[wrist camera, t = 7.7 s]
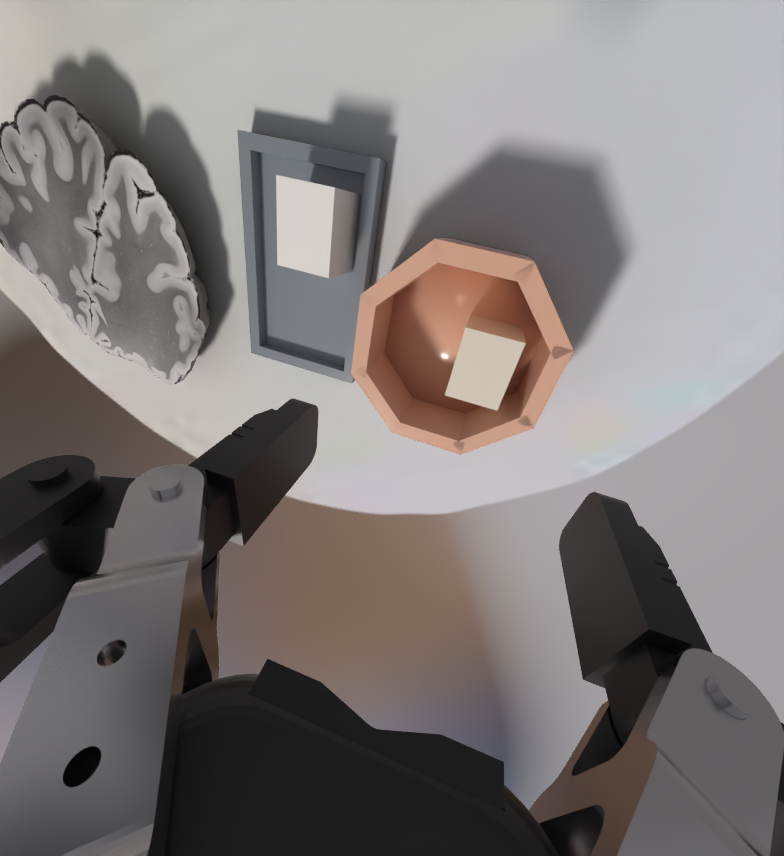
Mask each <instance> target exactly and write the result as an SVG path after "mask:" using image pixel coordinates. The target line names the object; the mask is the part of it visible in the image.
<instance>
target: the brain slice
mask: <svg viewBox="0 0 784 856" xmlns="http://www.w3.org/2000/svg"><path fill="white" fill-rule="evenodd" d="M0 243H1V244H2V246H3V247H4V248H5V249H6V250H7V252H8V253H9V254H10V255H11V256H13V257H14V258H15V259H16V260H17V261H18V262H19V263H20V264H21V265H22V266H23V267H25V268H26V269H28V270H29V271H30V272H31V273H32V274H33V275H35V276H36V277H37V278H38V279H39V280H40V281H41V282H42V283H43V284H44V285H45V286H46V288H47V289H48V291H49V292H50V293H51V295H52V296H53V298H54V299H55V300H56V302H57V303H58V305H59V306H60V307H61V308H62V309H63V310H64V311H65V313H66V314H67V316H68V317H69V319H70V320H71V321H72V322H73V324H74V325H75V326H76V327H77V328H78V329H79V330H80V331H81V332H83V333H84V334H85V335H86V334H88V335H89V336H90V338H91V339H92V340H93V341H94V342H96V343H98V345H99V346H100V347H102V348H103V349H104V350H105V351H107V352H108V353H110V354H113V355H116V356H120V357H122V358H124V359H127V360H130V361H134V362H136V363H138V364H140V365H142V366H144V367H145V368H146V369H147V370H148V371H150V372H151V373H153V374H154V375H155V376H157V377H159V378H161V379H162V380H163V381H165V382H167V383H170V384H176V383H179V382H180V381H182V380H183V379H184V378H185V377H186V376H187V374H188V373H189V372H190V371H191V370H192V368H193V366H194V363H195V361H196V358H197V355H198V352H199V350H200V348H201V346H202V345H203V342H204V336H205V334H206V331H207V329H208V326H209V322H210V312H209V309H207V308H206V304H207V302H208V296H207V292H206V288H205V286H204V285H203V283H202V280H201V279H200V278H199V277H197V276H196V275H195V262H194V259H193V256H192V252H191V249H190V246H189V243H188V240H187V237H186V234H185V232H184V229H183V227H182V225H181V223H180V221H179V219H178V217H177V216H176V214H175V212H174V210H173V209H172V207H171V206H170V204H169V203H168V202H167V200H166V199H165V198H164V196H163V195H162V194H161V193H160V192H159V191H158V190H157V188H156V186H155V183H154V180H153V178H152V177H151V175H150V173H149V171H148V169H147V168H146V167H145V166H144V164H143V163H142V162H141V161H140V160H139V158H138V157H136V156H135V155H134V154H132V153H131V152H129V151H118V149H117V148H116V146H115V145H114V143H113V142H112V141H111V140H110V138H109V137H108V136H107V135H106V134H105V133H104V132H103V131H102V130H101V129H100V128H99V127H98V126H97V125H96V124H95V123H94V122H93V121H91V120H90V119H88V118H87V117H85V116H83V115H82V114H81V113H80V112H79V111H78V110H77V109H76V107H75V106H74V105H73V104H72V103H71V102H70V101H68V100H67V99H66V98H64V97H60V96H57V95H52V96H49V97H48V98H47V99H46V100H45V102H44V106H43V105H41V104H40V103H38V102H37V101H36V100H34V99H26V100H24V101H23V102H21V103H20V104H19V105H18V106H17V107H16V108H15V115H14V122H10V121H6V122H4V123H2V124H1V126H0Z"/></svg>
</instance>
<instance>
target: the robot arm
mask: <svg viewBox="0 0 784 856" xmlns="http://www.w3.org/2000/svg"><path fill="white" fill-rule="evenodd" d="M317 429H318V408H317V406H316V405H313V404H309V403H306V402H303V401H300V400H296V399H290V400H289V401H288V402H286V403H285V404H284V405H283V406H281V407H280V408H279V409H278V410H274V409H270V410H267V411H265V412H262V413H259V414H256V415H254V416H253V417H252V418H250V419H249V420H248V421H246V422H245V423H244V424H242V427H238V428H237V429H236V430H234V431H233V432H232V434H231V435H228V436H227V437H225V438H224V439H223V440H221V441H220V442H219V443H217V444H216V445H215V446H213V447H212V448H211V449H209V450H208V451H207V452H205V453H204V454H203V455H201V456H200V457H199V458H198V459H196V460H195V461H194V462H192V463H191V464H190V465H188V466H187V465H167V466H163V467H158V468H155V469H153V470H150V471H148V472H146V473H144V474H142V475H141V476H139V477H138V478H136V479H132V478H119V477H105V476H100V475H99V474H98V471H97V469H96V467H95V465H94V463H93V462H92V461H91V460H90V459H88V458H86V457H83V456H77V455H63V456H55V457H50V458H46V459H42V460H39V461H36V462H33V463H30V464H28V465H26V466H24V467H22V468H20V469H18V470H16V471H14V472H12V473H11V474H9V475H7V476H5V477H3V478H1V479H0V568H2V567H3V566H5V565H6V564H7V563H9V562H10V561H11V560H13V559H14V558H16V557H17V556H18V555H20V554H21V553H23V552H24V551H25V550H27V549H28V548H29V547H31V546H32V545H34V544H35V543H36V542H37V544H38V545H39V546H40V548H41V549H42V551H43V552H44V553H42V554H41V555H40V556H39V557H37V558H36V559H34V560H33V561H32V562H30V563H29V564H28V565H27V566H25V567H24V568H23V569H21V570H20V571H19V572H18V573H16V574H15V575H13V576H12V577H11V578H9V579H8V580H7V581H5V582H4V583H3V584H2V585H0V682H1V681H2V680H3V679H4V678H5V677H6V676H7V675H8V674H9V673H10V672H12V670H14V668H16V667H17V666H18V665H19V664H20V663H21V662H22V661H23V660H24V659H25V658H26V657H27V656H28V655H29V654H30V653H31V652H32V651H33V650H34V649H35V648H37V647H38V646H39V645H40V644H41V643H42V642H43V641H44V640H45V639H46V638H47V637H48V636H49V635H50V634H51V633H52V632H53V633H52V636H51V638H50V641H49V643H48V646H47V648H46V651H45V653H44V656H43V658H42V661H41V663H40V666H39V669H38V671H37V673H36V676H35V678H34V681H33V683H32V686H31V688H30V691H29V693H28V696H27V698H26V701H25V703H24V706H23V709H22V711H21V714H20V716H19V718H18V721H17V723H16V726H15V729H14V731H13V733H12V736H11V738H10V741H9V743H8V746H7V748H6V751H5V753H4V756H3V758H2V761H1V764H0V856H784V724H783V723H781V722H780V720H779V718H778V717H777V715H776V713H775V711H774V709H773V708H772V706H771V705H770V703H769V702H768V701H767V699H766V698H765V696H764V695H763V694H762V693H761V692H760V690H759V689H758V688H757V687H756V686H755V685H754V684H753V683H752V682H751V681H750V680H749V679H748V678H747V677H746V676H745V675H744V674H743V673H741V672H740V671H739V670H738V669H737V668H736V667H734V666H733V665H732V664H730V663H729V662H727V661H725V660H724V659H722V658H721V657H719V656H717V655H715V654H713V653H712V651H711V649H710V647H709V645H708V643H707V641H706V639H705V637H704V635H703V633H702V631H701V629H700V627H699V625H698V623H697V621H696V619H695V617H694V615H693V613H692V611H691V609H690V607H689V605H688V603H687V601H686V599H685V597H684V595H683V593H682V591H681V589H680V587H679V586H677V585H676V584H677V580H676V578H675V576H674V575H673V573H672V570H671V569H668V567H669V564H668V563H667V560H666V558H665V557H664V554H663V553H662V550H661V548H660V547H659V545H658V544H657V543H656V542H655V541H654V539H653V538H652V537H651V536H650V535H649V534H648V533H647V532H646V531H645V529H644V528H643V527H641V526H638V524H637V522H636V520H635V518H634V516H633V513H632V511H631V509H630V507H629V505H628V504H627V503H626V502H624V501H621V500H618V499H615V498H612V497H609V496H605V495H602V494H599V493H596V492H593V493H590V494H589V495H588V496H587V497H586V498H585V500H584V501H583V503H582V504H581V505H580V507H579V508H578V510H577V511H576V512H575V514H574V515H573V516H572V518H571V519H570V521H569V522H568V523H567V525H566V526H565V528H564V529H563V531H562V534H561V537H560V543H559V550H560V556H561V561H562V567H563V572H564V578H565V583H566V589H567V594H568V600H569V605H570V611H571V616H572V622H573V627H574V633H575V638H576V644H577V649H578V655H579V660H580V665H581V671H582V676H583V680H586V681H588V682H591V683H593V684H596V685H599V686H601V687H603V688H606V693H607V697H608V701H607V702H605V703H604V704H602V705H601V707H600V708H599V710H598V712H597V713H596V715H595V716H594V718H593V720H592V722H591V723H590V725H589V726H588V728H587V730H586V731H585V733H584V735H583V736H582V738H581V740H580V742H579V743H578V745H577V747H576V748H575V750H574V752H573V753H572V755H571V757H570V758H569V760H568V762H567V763H566V765H565V767H564V768H563V770H562V771H561V773H560V774H559V776H558V777H557V778H556V780H555V781H554V782H553V783H552V784H551V785H550V786H549V787H548V788H547V789H546V790H545V791H544V792H543V793H542V794H541V795H540V796H539V797H538V798H537V800H536V801H535V802H534V804H533V805H532V806H531V808H530V809H529V810H528V809H527V808H526V807H525V806H524V805H523V804H522V802H521V801H520V800H519V799H518V798H517V797H516V796H515V795H514V794H513V793H512V792H511V791H510V790H509V789H508V788H507V787H506V786H505V785H504V762H502V761H500V760H498V759H495V758H493V757H491V756H489V755H486V754H484V753H482V752H480V751H477V750H475V749H472V748H470V747H468V746H466V745H463V744H461V743H459V742H457V741H454V740H452V739H450V738H447V737H445V736H443V735H439V734H427V733H414V732H401V731H389V730H379V729H375V728H373V727H371V726H370V725H368V724H367V723H366V722H365V721H364V720H363V719H362V718H361V717H359V716H358V715H357V714H356V713H355V712H354V711H353V710H352V709H350V708H349V707H348V706H347V705H346V704H345V703H344V702H343V701H341V700H340V699H339V698H338V697H337V696H336V695H335V694H334V693H332V692H331V691H330V690H329V689H328V688H327V687H326V686H324V685H323V684H322V683H321V682H319V681H317V680H315V679H312V678H310V677H308V676H305V675H303V674H301V673H299V672H296V671H294V670H292V669H290V668H287V667H285V666H283V665H280V664H278V663H276V662H274V661H271V660H269V659H267V661H266V663H265V664H264V666H263V668H262V670H261V672H260V674H242V675H234V676H230V677H225V678H220V679H219V647H218V636H217V618H218V593H219V570H220V550H221V549H222V548H223V546H224V545H225V544H226V543H227V542H228V541H231V542H234V543H236V544H239V545H242V546H244V545H245V544H246V543H247V541H248V540H249V539H250V538H251V536H252V535H253V534H254V533H255V531H256V530H257V529H258V528H259V526H260V525H261V524H262V523H263V521H264V520H265V519H266V518H267V517H268V515H269V514H270V513H271V512H272V510H273V509H274V508H275V507H276V505H277V504H278V503H279V502H280V501H281V499H282V498H283V497H284V496H285V494H286V493H287V492H288V491H289V490H290V488H291V487H292V486H293V485H294V483H295V482H296V481H297V480H298V478H299V477H300V476H301V475H302V473H303V472H304V471H305V470H306V469H307V467H308V466H309V465H310V463H311V462H312V460H313V458H314V455H315V452H316V447H317Z"/></svg>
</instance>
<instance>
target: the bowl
mask: <svg viewBox="0 0 784 856" xmlns="http://www.w3.org/2000/svg"><path fill="white" fill-rule="evenodd" d="M470 314H471V315H475V316H479V317H483V318H487V319H491V320H495V321H499V322H503V323H507V324H510V325H514V326H518V327H522V328H523V333H524V337H525V342H526V344H525V346H524V349H523V351H522V353H521V356H520V358H519V361H518V363H517V365H516V368H515V370H514V372H513V375H512V377H511V380H510V382H509V384H508V387H507V389H506V391H505V394H504V396H503V398H502V401H501V403H500V406H499V408H498V410H497V411H496V410H493V409H489V408H486V407H483V406H479V405H476V404H473V403H469V402H466V401H462V400H459V399H456V398H452V397H449V396H445V393H446V389H447V386H448V383H449V380H450V376H451V373H452V370H453V367H454V363H455V360H456V357H457V354H458V350H459V347H460V344H461V340H462V337H463V334H464V331H465V327H466V325H467V322H468V319H469V317H470ZM573 351H574V350H573V348H572V346H571V343H570V341H569V339H568V337H567V334H566V332H565V330H564V327H563V325H562V323H561V321H560V318H559V316H558V314H557V312H556V309H555V307H554V305H553V302H552V300H551V298H550V296H549V293H548V291H547V289H546V286H545V284H544V282H543V280H542V277H541V275H540V273H539V270H538V268H537V266H536V264H535V261H534V260H532V259H531V258H530V257H529V256H526V255H521V254H517V253H512V252H508V251H504V250H499V249H495V248H491V247H486V246H482V245H477V244H473V243H469V242H464V241H460V240H455V239H451V238H435V239H434V240H432V241H431V242H430V243H428V244H427V245H426V246H424V247H423V248H422V249H420V250H419V251H418V252H416V253H415V254H414V255H413V256H411V257H410V258H409V259H407V260H406V261H405V262H403V263H402V264H401V265H399V266H398V267H397V268H395V269H394V270H393V271H391V272H390V273H389V274H387V275H386V276H385V277H383V278H382V279H381V280H379V281H378V282H377V283H375V284H374V285H373V286H371V287H370V288H369V289H367V290H366V291H365V292H363V293H362V294H360V303H359V311H358V319H357V327H356V336H355V344H354V352H353V360H352V369H351V374H352V376H353V377H354V379H355V380H356V381H357V383H358V384H359V386H360V387H361V389H362V390H363V392H364V393H365V395H366V396H367V397H368V399H369V400H370V402H371V403H372V405H373V406H374V408H375V409H376V410H377V412H378V413H379V415H380V416H381V418H382V419H383V421H384V422H385V424H386V425H387V426H388V428H389V429H390V431H391V432H392V433H395V434H398V435H401V436H404V437H407V438H410V439H413V440H416V441H420V442H423V443H426V444H429V445H432V446H435V447H438V448H441V449H445V450H448V451H451V452H454V453H457V454H460V455H461V454H463V453H466V452H469V451H472V450H474V449H477V448H480V447H483V446H486V445H488V444H491V443H494V442H497V441H499V440H502V439H505V438H508V437H510V436H513V435H516V434H519V433H521V432H524V431H527V430H530V429H533V428H534V427H535V425H536V423H537V421H538V419H539V417H540V415H541V413H542V411H543V409H544V407H545V405H546V403H547V401H548V400H549V398H550V396H551V394H552V392H553V390H554V388H555V386H556V384H557V382H558V380H559V378H560V376H561V374H562V372H563V370H564V369H565V367H566V365H567V363H568V361H569V359H570V357H571V355H572V353H573Z"/></svg>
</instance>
